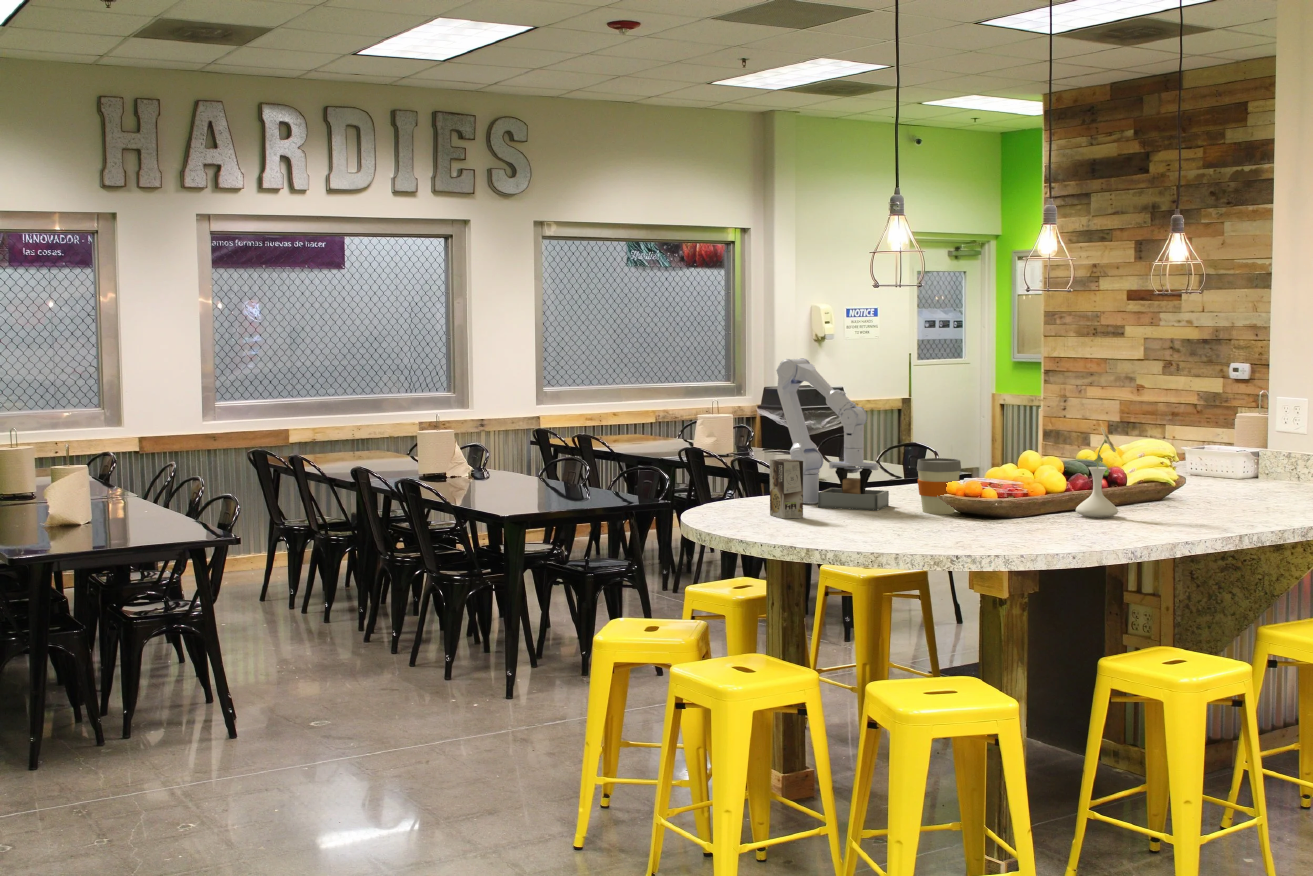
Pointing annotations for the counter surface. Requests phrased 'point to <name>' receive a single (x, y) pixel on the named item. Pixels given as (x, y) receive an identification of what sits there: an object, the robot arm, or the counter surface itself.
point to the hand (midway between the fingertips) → (853, 493)
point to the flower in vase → (1098, 490)
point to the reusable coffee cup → (936, 482)
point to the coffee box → (786, 488)
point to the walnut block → (851, 485)
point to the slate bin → (853, 499)
